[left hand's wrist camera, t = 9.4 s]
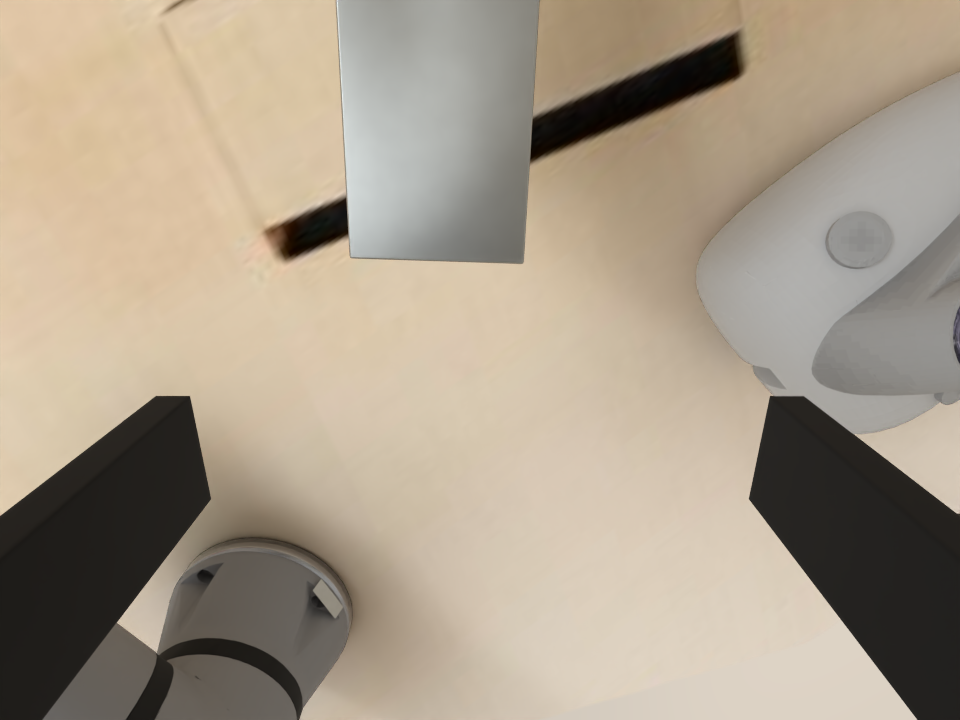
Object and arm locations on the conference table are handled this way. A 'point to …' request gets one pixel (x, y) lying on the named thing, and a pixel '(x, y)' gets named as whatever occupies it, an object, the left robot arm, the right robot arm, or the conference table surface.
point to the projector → (853, 269)
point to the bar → (437, 127)
